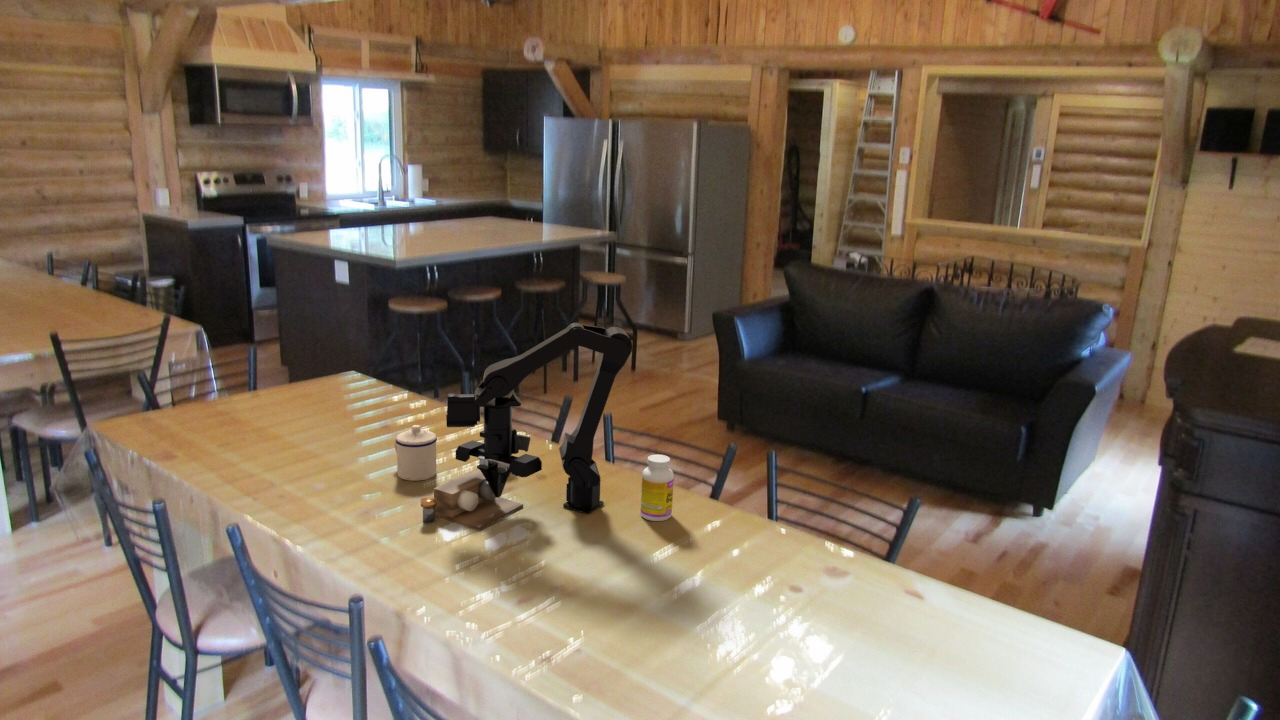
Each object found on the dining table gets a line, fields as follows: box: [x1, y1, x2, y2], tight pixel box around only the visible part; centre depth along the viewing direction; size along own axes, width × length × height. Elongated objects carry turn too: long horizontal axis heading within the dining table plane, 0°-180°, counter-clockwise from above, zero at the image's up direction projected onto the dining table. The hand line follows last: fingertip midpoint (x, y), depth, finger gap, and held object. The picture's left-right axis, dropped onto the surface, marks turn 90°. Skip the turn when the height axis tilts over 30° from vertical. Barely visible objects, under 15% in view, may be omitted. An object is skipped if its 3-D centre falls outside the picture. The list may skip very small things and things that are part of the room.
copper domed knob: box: [420, 496, 437, 524], centre depth 174 cm, size 3×3×4 cm
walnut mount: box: [433, 468, 524, 531], centre depth 180 cm, size 13×14×6 cm
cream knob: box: [457, 490, 479, 511], centre depth 179 cm, size 9×4×4 cm, turn 59°
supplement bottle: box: [639, 454, 675, 522], centre depth 181 cm, size 7×7×13 cm
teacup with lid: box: [394, 424, 438, 482], centre depth 198 cm, size 12×9×12 cm
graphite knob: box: [478, 480, 496, 501], centre depth 184 cm, size 9×4×4 cm, turn 59°
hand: (498, 496), depth 181 cm, fingers closed
